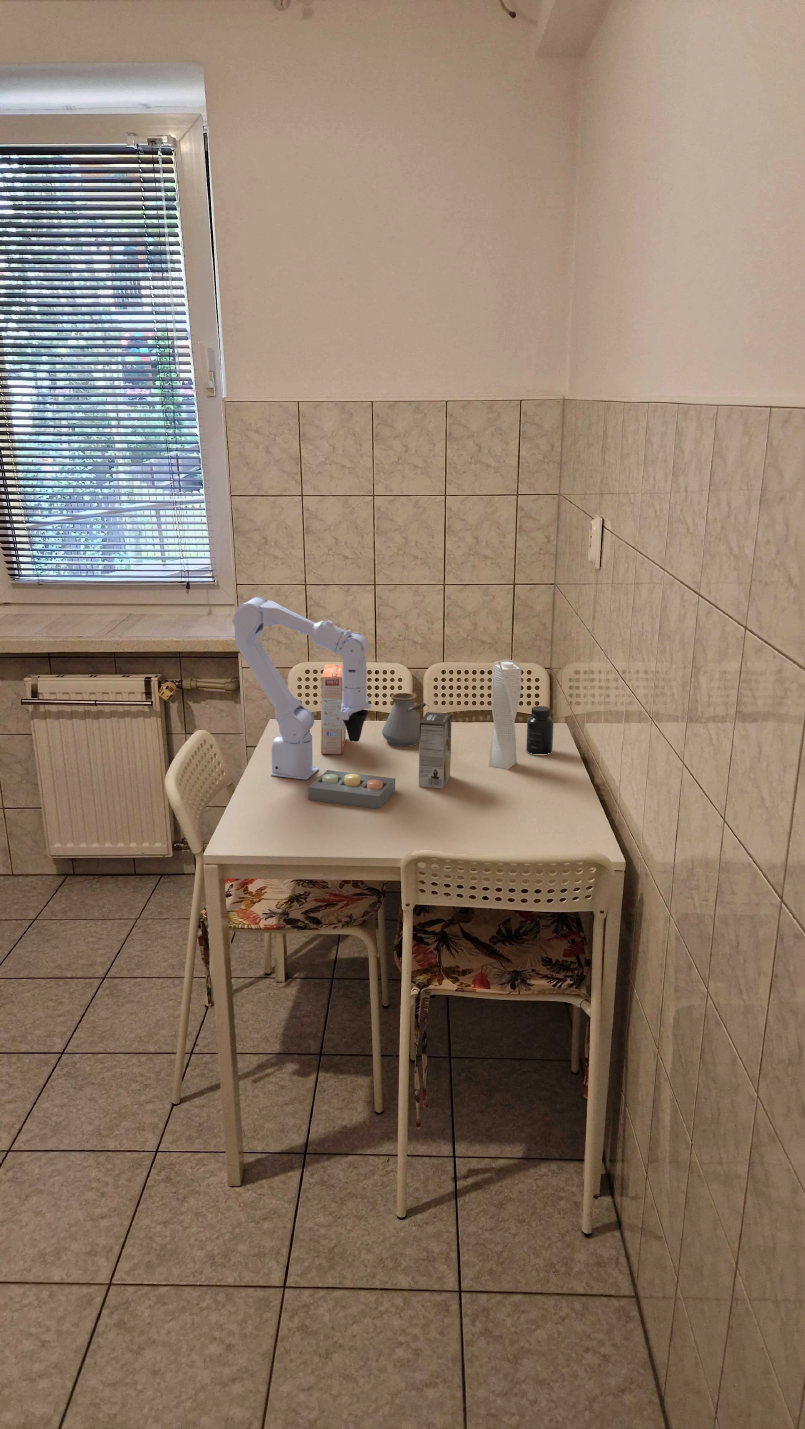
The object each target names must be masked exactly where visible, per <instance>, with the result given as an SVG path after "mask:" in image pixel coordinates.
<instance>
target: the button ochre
mask: <svg viewBox="0 0 805 1429" xmlns="http://www.w3.org/2000/svg"><path fill="white" fill-rule="evenodd" d="M357 774H358V773H356V774H347V775H345V776H344V784H345V785H346V786H353V787H359V786H360V775H357Z"/></svg>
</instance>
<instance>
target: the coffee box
mask: <svg viewBox="0 0 805 1429" xmlns="http://www.w3.org/2000/svg"><path fill="white" fill-rule="evenodd" d="M452 716H453V713H451V712H450V713H449V712H446V713H445V712H434V711H433V712H431V711H425V714H424V715H423V717H422V719H420V721H421V722H420V735H419V741H418V744H419V745H418V751H419V752H418V787H422V788H433V789H434V788H435V789H445V787H446V785H447V783H448V781H449V779H450V776H451V754H452V752H451V751H452Z"/></svg>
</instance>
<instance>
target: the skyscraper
mask: <svg viewBox="0 0 805 1429" xmlns="http://www.w3.org/2000/svg"><path fill="white" fill-rule="evenodd" d="M492 665H493V666H492V676H491V692H490V693H491V695H490V696H491V697H490V698H491V701H490V702H491V712H492V713H491V714H492V720H493V727H492V728H493V730H492V736H491V742H490V750H489V751H490V753H489V760H488V766H490V767H493V768H499V769H504V770H509V769H510V768H512V767H513V766H514V765H516V764H517V763H518V761H517V760H518V757H517V737H516V722H515V720H516V717H517V714H518V709H519V705H520V700H521V691H522V667H521V665H520V663H518V662H517V661H516V660H512V659H509V658H508V659H506V658H505V659H500V660H497V661H494V662H493V664H492ZM515 763H516V764H515ZM512 765H513V766H512Z"/></svg>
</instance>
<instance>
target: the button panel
mask: <svg viewBox="0 0 805 1429" xmlns="http://www.w3.org/2000/svg"><path fill="white" fill-rule="evenodd" d="M326 774H335V775H337V776H338V782H337V783H336V784H330V783H322V776H323V775H326ZM347 774H357V775H360V786H359V787H353V786H346V785H345V784H344V776H345V775H347ZM369 780H381V781H382V782H383V788H382V789H381V790H377V789H369V788H367V781H369ZM395 791H396V777H389V776H387V777H386V776H379V775H372V774H362V773H355V772H354V773H353V772H346V771H341V770H340V771H339V770H338V771H337V770H329V769H327V770H326V771H325V772H324V773H322V774H321V775H320V776H319V777H318V778H316V779H315V780H314V781H313V782H312V783H311V784H309V785H308V787H307V800H310V801H318V802H326V803H331V804H340V805H348V806H355V807H361V808H363V807H364V808H371V809H378V810H380V808H381V807H382V806H383V805H384V804H385V803H386V802H387V801H388V799H389V798H390V797H391V796H392V795H393V794H394V792H395Z"/></svg>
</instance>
